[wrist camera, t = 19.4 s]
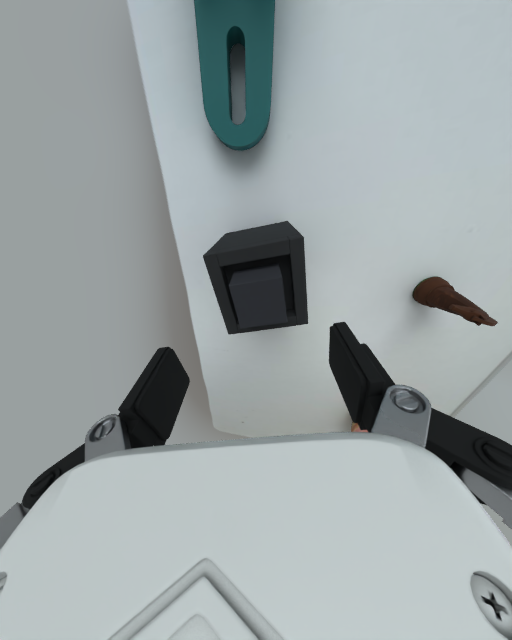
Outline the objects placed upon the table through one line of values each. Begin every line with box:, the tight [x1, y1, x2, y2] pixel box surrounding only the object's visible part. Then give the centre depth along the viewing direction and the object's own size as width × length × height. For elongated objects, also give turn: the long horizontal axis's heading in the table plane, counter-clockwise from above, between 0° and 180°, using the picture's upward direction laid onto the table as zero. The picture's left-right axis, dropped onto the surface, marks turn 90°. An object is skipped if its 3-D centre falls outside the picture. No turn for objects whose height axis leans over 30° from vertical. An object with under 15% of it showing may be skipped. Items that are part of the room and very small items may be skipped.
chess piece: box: [413, 277, 498, 326], centre depth 27 cm, size 5×5×10 cm
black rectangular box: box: [203, 221, 308, 334], centre depth 24 cm, size 9×9×12 cm
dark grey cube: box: [229, 263, 287, 329], centre depth 19 cm, size 4×4×4 cm
